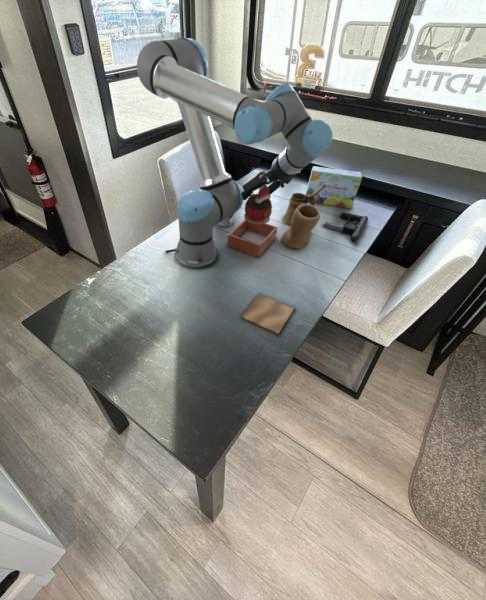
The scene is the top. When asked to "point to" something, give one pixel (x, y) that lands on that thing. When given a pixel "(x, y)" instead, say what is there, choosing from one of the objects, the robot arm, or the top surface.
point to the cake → (259, 206)
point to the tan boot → (301, 226)
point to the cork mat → (268, 313)
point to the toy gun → (350, 229)
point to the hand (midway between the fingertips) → (256, 193)
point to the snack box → (334, 186)
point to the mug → (226, 221)
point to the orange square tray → (248, 245)
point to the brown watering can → (299, 203)
